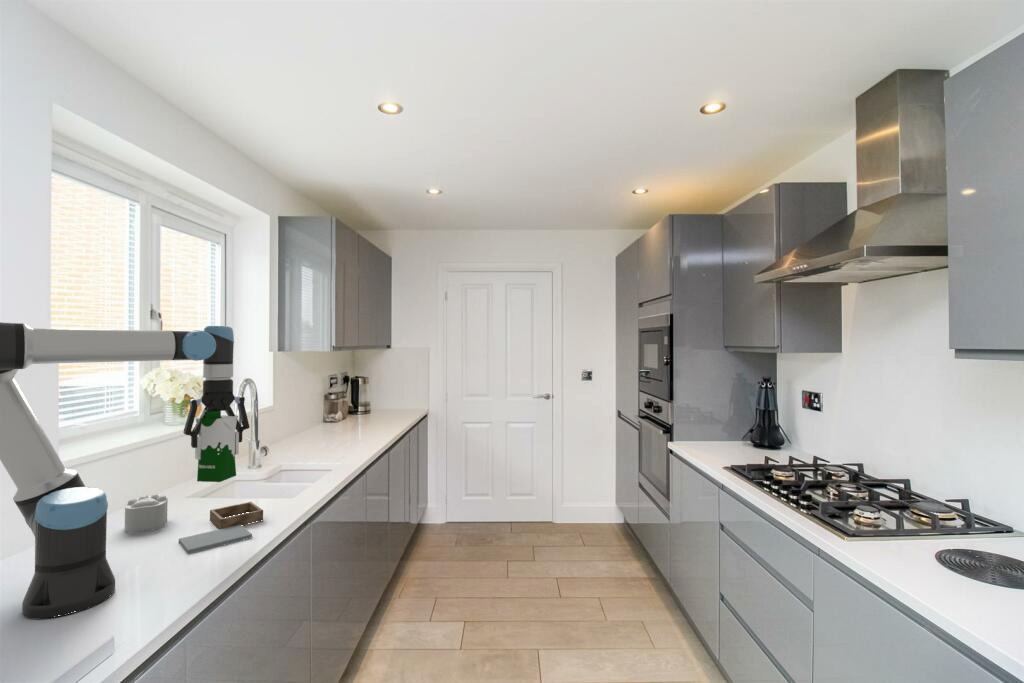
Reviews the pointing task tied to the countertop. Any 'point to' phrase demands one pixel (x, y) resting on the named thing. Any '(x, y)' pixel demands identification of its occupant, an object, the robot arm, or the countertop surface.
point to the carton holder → (236, 515)
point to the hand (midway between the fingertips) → (217, 456)
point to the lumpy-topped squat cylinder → (146, 513)
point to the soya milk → (217, 447)
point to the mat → (214, 538)
